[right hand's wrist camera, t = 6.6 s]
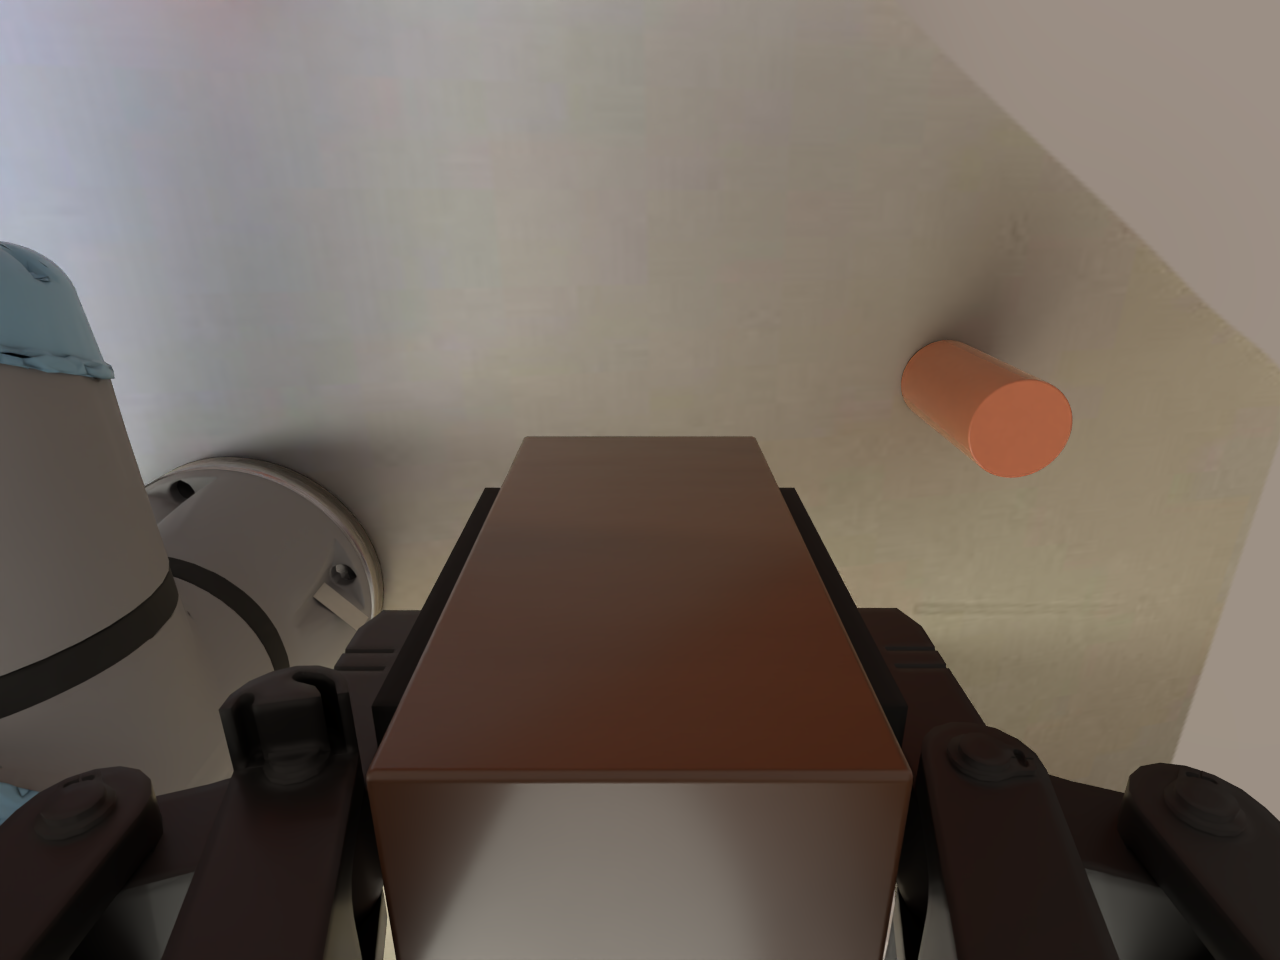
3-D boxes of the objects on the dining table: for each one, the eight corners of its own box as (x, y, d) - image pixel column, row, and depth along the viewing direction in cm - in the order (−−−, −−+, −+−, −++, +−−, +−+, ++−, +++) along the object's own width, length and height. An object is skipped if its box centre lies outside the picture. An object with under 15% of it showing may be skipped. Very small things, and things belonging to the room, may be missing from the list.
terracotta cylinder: (975, 419, 41) (1061, 478, 33) (896, 419, 41) (960, 478, 33) (989, 339, 39) (1083, 379, 31) (906, 339, 39) (977, 379, 31)
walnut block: (744, 634, 16) (859, 1121, 8) (535, 634, 16) (420, 1121, 8) (756, 435, 14) (917, 775, 6) (523, 435, 14) (361, 775, 6)
